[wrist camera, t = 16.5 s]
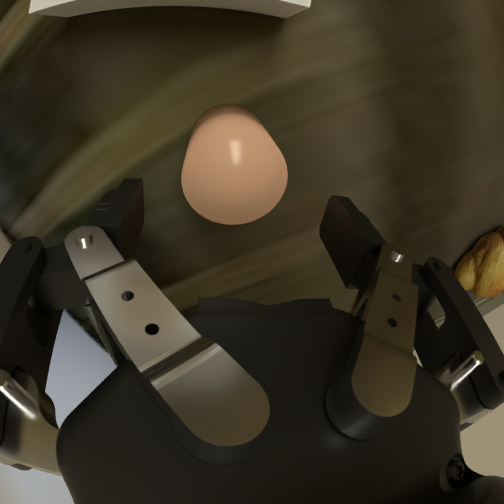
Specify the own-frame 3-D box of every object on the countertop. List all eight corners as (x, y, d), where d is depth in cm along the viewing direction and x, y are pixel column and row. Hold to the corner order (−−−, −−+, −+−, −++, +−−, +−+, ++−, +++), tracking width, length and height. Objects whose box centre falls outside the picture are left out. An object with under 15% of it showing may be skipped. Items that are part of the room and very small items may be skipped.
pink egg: (195, 100, 16) (185, 124, 11) (269, 109, 17) (298, 137, 12) (188, 168, 19) (179, 221, 14) (256, 174, 20) (275, 228, 15)
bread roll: (443, 286, 34) (470, 328, 27) (458, 233, 27) (496, 278, 21) (496, 260, 33) (523, 295, 27) (513, 211, 27) (547, 247, 20)
